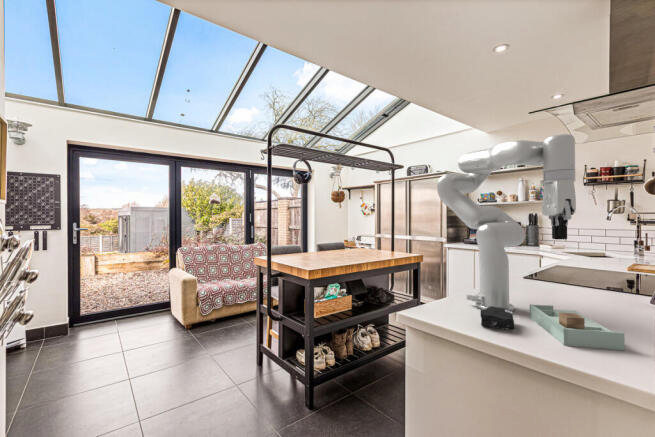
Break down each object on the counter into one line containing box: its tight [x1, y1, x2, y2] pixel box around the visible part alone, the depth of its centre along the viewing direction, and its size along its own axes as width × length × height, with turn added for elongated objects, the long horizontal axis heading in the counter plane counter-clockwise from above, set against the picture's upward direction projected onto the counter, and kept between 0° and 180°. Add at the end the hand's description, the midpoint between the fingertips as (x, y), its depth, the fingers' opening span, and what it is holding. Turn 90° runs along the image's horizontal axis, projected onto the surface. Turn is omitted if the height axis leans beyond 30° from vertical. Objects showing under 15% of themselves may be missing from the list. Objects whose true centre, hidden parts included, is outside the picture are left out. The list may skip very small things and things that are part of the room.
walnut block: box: [559, 313, 585, 329], centre depth 80 cm, size 4×4×4 cm
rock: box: [480, 306, 515, 330], centre depth 92 cm, size 10×9×6 cm
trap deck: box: [529, 304, 626, 351], centre depth 86 cm, size 13×22×4 cm, turn 165°
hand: (559, 239), depth 87 cm, fingers closed
